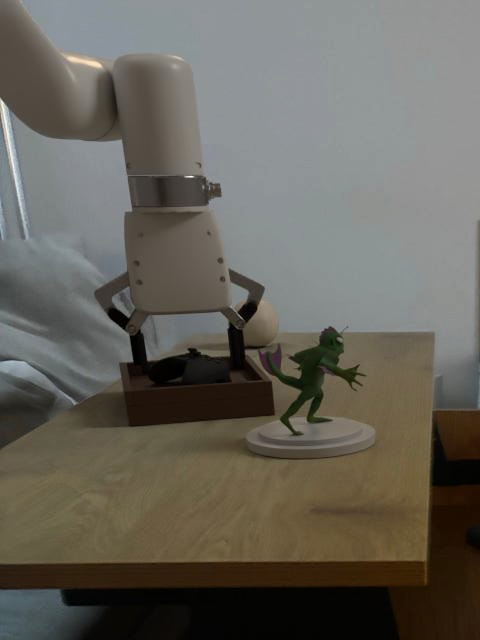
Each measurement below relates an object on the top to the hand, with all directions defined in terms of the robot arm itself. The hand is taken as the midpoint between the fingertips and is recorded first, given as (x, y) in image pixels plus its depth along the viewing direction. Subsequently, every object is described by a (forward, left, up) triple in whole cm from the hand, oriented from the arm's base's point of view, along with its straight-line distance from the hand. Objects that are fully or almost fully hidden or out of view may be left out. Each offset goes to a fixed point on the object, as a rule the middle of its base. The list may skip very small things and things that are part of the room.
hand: (191, 368), depth 107 cm
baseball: (-5, +39, -4) cm, 39 cm away
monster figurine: (+17, -16, -4) cm, 24 cm away
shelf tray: (0, 0, -4) cm, 4 cm away
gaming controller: (0, 0, -2) cm, 2 cm away
